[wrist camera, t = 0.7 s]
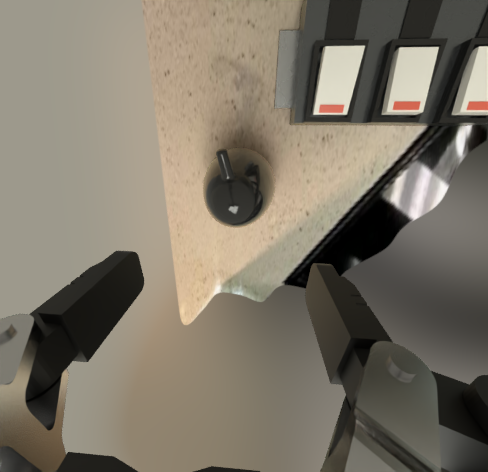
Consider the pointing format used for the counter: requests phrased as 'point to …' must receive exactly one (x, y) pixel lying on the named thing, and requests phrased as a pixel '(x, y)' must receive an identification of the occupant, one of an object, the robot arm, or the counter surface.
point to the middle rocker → (409, 80)
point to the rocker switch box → (380, 56)
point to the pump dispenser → (238, 187)
